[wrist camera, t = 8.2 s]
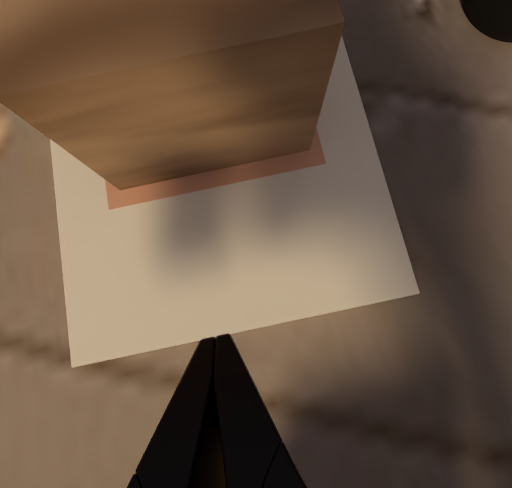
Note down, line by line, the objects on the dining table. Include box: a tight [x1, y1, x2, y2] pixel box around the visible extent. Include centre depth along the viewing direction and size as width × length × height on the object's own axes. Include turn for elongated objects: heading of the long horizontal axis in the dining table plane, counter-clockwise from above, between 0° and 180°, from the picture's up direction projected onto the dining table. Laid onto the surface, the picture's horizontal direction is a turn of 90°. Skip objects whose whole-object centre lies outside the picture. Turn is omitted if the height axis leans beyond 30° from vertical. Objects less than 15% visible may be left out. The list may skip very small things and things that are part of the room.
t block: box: [0, 0, 345, 190], centre depth 16 cm, size 15×12×9 cm
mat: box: [50, 36, 420, 367], centre depth 20 cm, size 25×20×1 cm
